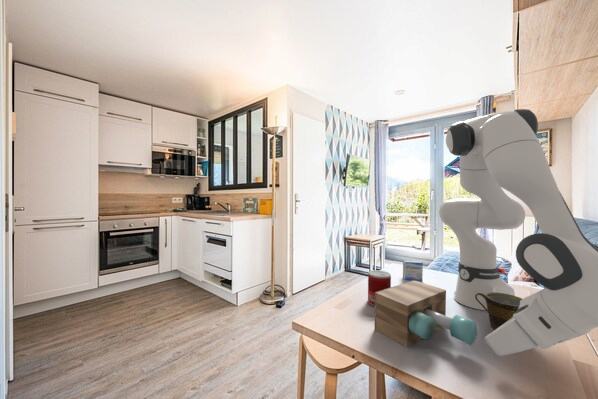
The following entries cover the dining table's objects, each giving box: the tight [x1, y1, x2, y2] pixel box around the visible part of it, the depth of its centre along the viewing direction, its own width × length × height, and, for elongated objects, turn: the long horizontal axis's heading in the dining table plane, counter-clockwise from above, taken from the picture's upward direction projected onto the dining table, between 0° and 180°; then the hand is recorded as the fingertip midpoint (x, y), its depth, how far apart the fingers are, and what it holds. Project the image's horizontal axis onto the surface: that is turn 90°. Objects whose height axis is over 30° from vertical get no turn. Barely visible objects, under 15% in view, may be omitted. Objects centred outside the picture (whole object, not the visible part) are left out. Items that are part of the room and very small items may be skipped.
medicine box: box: [402, 259, 424, 282], centre depth 120 cm, size 8×4×9 cm, turn 81°
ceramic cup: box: [475, 292, 523, 332], centre depth 75 cm, size 13×10×10 cm
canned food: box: [367, 270, 392, 306], centre depth 93 cm, size 8×8×11 cm
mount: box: [374, 280, 447, 348], centre depth 74 cm, size 20×15×11 cm
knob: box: [424, 308, 478, 346], centre depth 68 cm, size 6×14×6 cm, turn 34°
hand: (489, 340), depth 59 cm, fingers closed
